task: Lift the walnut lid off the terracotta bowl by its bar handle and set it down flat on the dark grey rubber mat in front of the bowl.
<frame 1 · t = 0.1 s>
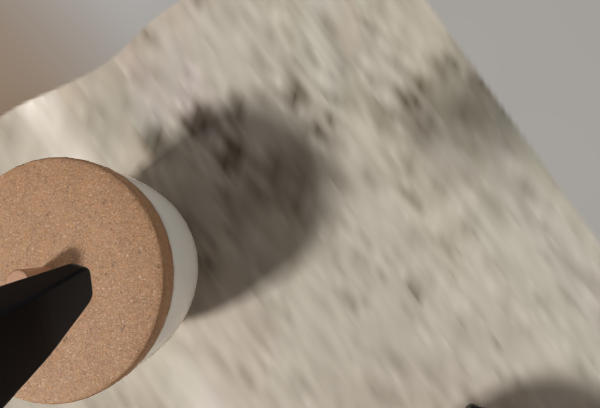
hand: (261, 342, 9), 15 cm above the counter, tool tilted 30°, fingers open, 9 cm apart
lidded jar: (143, 265, 26), on the counter
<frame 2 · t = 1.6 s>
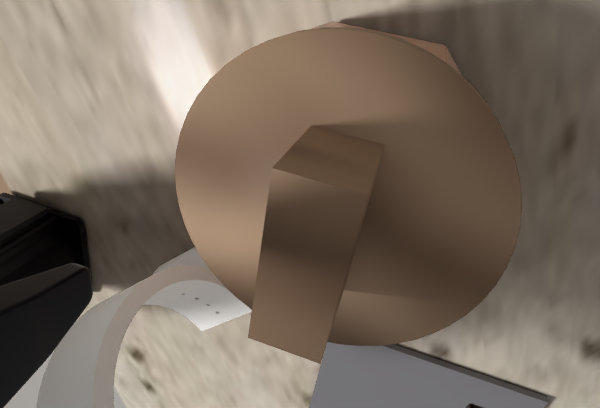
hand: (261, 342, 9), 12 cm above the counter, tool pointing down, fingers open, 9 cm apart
lid: (333, 205, 15), point 5 cm above the counter, touching bowl
bowl: (357, 156, 19), on the counter
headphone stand: (204, 275, 26), on the counter
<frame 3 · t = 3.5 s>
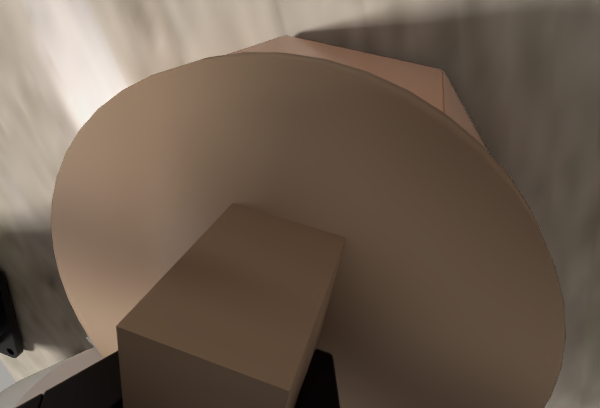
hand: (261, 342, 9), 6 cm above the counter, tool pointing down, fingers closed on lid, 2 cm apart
lid: (280, 304, 10), point 5 cm above the counter, touching bowl, gripper
bowl: (326, 212, 15), on the counter
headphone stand: (150, 340, 21), on the counter
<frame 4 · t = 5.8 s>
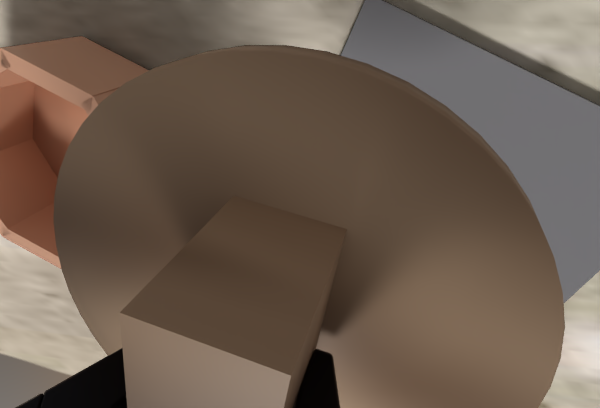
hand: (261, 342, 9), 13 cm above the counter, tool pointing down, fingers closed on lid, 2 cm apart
lid: (281, 297, 11), point 12 cm above the counter, touching gripper
bowl: (109, 143, 25), on the counter
mat: (452, 191, 20), on the counter
when the fingers open (3 cm above the counter, at t = 8.6 s): lid drops 2 cm, resting on mat.
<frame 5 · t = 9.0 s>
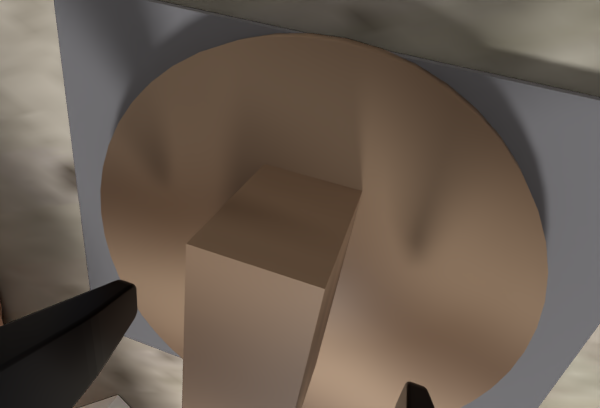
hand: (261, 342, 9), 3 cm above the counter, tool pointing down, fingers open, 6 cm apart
lid: (301, 258, 12), resting on mat
mat: (305, 255, 12), on the counter
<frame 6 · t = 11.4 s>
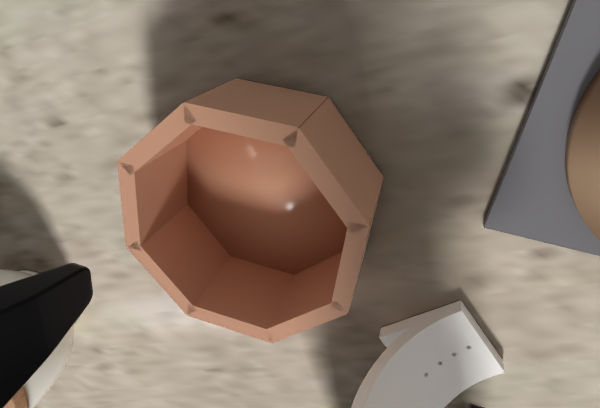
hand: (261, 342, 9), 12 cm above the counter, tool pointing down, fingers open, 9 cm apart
bowl: (272, 189, 22), on the counter
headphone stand: (431, 343, 24), on the counter
lidded jar: (45, 299, 33), on the counter
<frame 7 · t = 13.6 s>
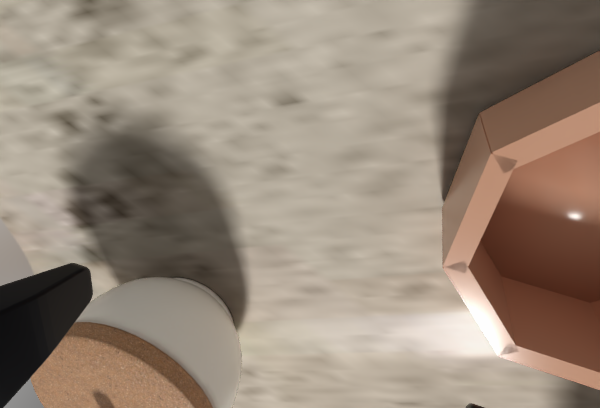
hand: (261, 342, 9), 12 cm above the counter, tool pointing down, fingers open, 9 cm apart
bowl: (593, 195, 17), on the counter
lidded jar: (193, 312, 28), on the counter
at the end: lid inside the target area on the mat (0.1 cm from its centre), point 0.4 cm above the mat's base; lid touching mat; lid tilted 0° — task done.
